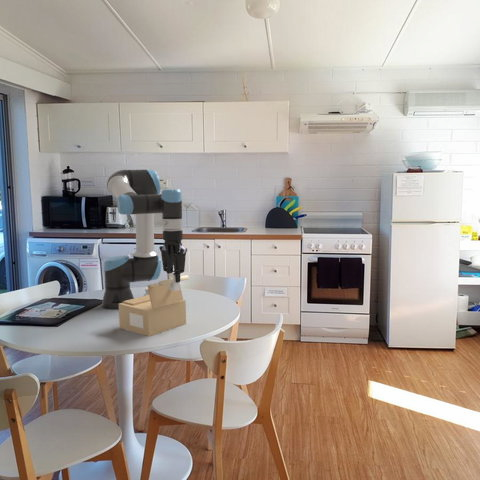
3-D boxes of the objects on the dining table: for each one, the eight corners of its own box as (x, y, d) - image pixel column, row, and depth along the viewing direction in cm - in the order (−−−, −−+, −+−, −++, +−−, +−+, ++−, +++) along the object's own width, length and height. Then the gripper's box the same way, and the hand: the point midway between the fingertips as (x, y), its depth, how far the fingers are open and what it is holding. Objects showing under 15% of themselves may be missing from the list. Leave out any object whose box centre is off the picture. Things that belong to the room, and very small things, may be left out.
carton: (119, 327, 187) (118, 302, 186) (157, 316, 203) (156, 292, 201) (148, 336, 176) (147, 309, 175) (186, 323, 192) (185, 298, 190)
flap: (146, 284, 177) (159, 281, 172) (177, 277, 189) (189, 274, 184) (152, 308, 176) (165, 306, 171) (182, 300, 189) (195, 297, 184)
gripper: (152, 229, 178) (154, 289, 181) (179, 231, 169) (180, 294, 171) (166, 228, 184) (168, 286, 187) (193, 230, 175) (194, 290, 177)
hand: (174, 290), depth 179 cm, fingers closed on flap, 2 cm apart
